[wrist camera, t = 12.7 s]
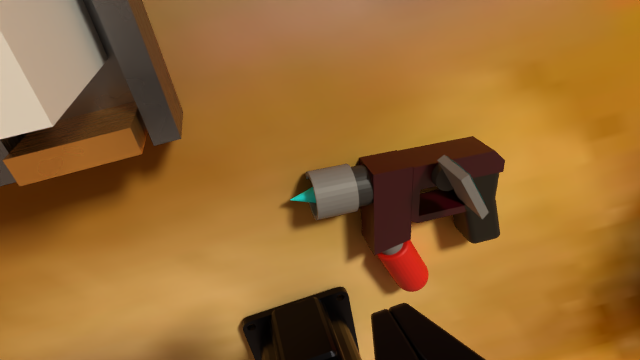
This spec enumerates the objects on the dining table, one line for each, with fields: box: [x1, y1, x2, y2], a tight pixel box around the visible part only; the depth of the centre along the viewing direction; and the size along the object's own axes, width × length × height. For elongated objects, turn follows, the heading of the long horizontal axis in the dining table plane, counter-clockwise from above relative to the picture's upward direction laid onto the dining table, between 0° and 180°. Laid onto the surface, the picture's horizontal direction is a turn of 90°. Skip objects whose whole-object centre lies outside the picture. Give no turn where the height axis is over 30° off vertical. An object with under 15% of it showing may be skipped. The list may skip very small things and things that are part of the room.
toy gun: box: [290, 136, 505, 292], centre depth 22 cm, size 10×12×5 cm
